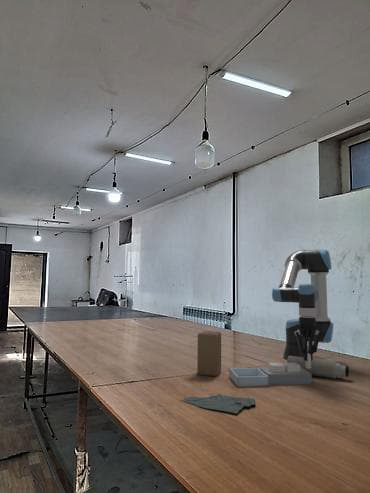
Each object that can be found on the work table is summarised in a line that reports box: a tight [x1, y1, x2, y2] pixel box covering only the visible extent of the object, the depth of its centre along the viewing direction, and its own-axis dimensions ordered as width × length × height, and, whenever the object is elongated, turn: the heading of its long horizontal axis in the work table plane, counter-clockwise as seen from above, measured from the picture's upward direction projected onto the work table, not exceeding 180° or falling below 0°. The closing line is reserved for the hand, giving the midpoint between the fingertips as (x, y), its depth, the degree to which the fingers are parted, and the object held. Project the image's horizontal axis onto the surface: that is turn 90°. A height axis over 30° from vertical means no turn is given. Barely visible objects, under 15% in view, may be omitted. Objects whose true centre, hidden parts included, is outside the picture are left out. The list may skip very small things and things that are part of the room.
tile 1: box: [267, 362, 285, 373], centre depth 170 cm, size 6×6×3 cm
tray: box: [228, 367, 270, 388], centre depth 168 cm, size 14×16×4 cm
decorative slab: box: [180, 393, 256, 416], centre depth 136 cm, size 26×24×2 cm
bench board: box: [259, 367, 313, 386], centre depth 170 cm, size 20×12×4 cm, turn 96°
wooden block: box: [196, 330, 222, 377], centre depth 182 cm, size 10×10×20 cm
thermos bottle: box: [286, 356, 350, 379], centre depth 179 cm, size 8×8×28 cm
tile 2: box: [282, 362, 300, 372], centre depth 170 cm, size 6×6×3 cm
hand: (308, 367), depth 171 cm, fingers closed
